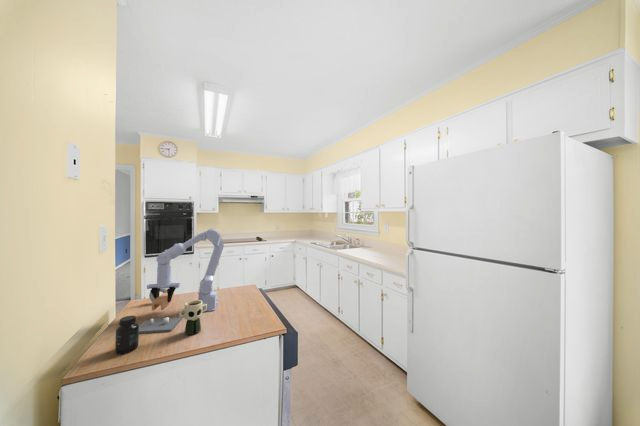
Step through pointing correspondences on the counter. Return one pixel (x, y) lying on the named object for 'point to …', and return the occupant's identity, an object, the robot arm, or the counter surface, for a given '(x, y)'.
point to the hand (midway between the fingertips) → (163, 302)
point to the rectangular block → (162, 301)
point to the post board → (159, 325)
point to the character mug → (193, 315)
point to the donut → (160, 291)
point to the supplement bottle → (127, 335)
